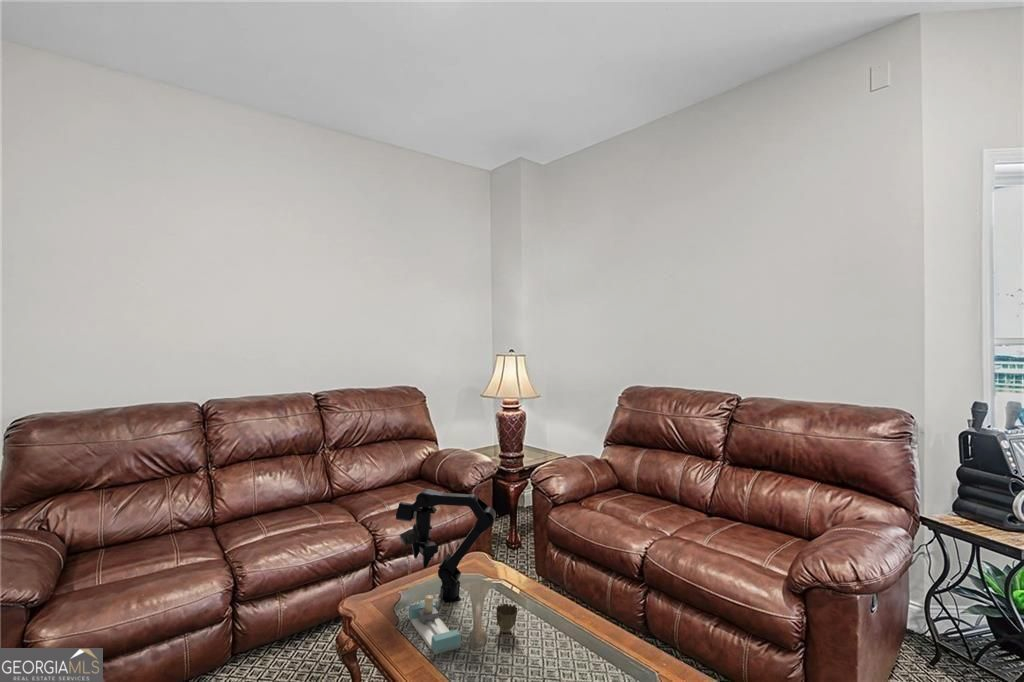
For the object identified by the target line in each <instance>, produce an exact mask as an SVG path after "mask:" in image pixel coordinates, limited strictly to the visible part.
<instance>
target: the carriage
mask: <svg viewBox="0 0 1024 682" xmlns="http://www.w3.org/2000/svg"><path fill="white" fill-rule="evenodd" d="M433 601H434V595H432V594H427V595H425V596H424V602H423V603H424V609H421V610H418V612H417V616H418V618H419V619H420V620H421V621H422V622H424V624H427V621H429V620H431V621H432V622H435V619H438V617H439V611H438V610H437V608H436V609H435V608H434V607H433Z"/></svg>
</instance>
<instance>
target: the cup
mask: <svg viewBox="0 0 1024 682" xmlns="http://www.w3.org/2000/svg"><path fill="white" fill-rule="evenodd" d="M495 610H496V622H497V625H498V627H499V629H500V632H501V633H503V634H509V633H510V632H511V630H512V628H514V626H515V625H516V621H517V616H518V607H516V605H515V604H511V603H510V604H508V603H503V604H500V605H498V604H497V605H496V609H495Z"/></svg>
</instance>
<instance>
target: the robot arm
mask: <svg viewBox="0 0 1024 682" xmlns="http://www.w3.org/2000/svg"><path fill="white" fill-rule="evenodd" d="M435 506H452V507H453V506H458V507H469V509H470V510H471V512H472V513H473V514H474V516H475V518H476V519H477V520H476V522H475V525H474V526H473V527H471V528H472V529H470V531H469V533H467V535H466V537H465V538H464V539H463V540H462V541H461V542H460V544H459V546H458V547H457V548H456V549H455V551H454V552H453V553H452V554H450V553H447V554H446V555H445V557H444V558H443V559H442V560H441V562H440V563H439V565H438V570H437V576H438V578H439V580H440V581H441V585H440V589H439V590H440V591H439V592H440V593H439V594H438V596H439V597H440V598H441V599H442V600H443V602H444V603H446V604H450V603H452V602H453V603H454V602H458V601H461V599H462V598H461V597H460V592H461V591H460V587H461V581H459V579H460V578H461V575H462V572H461V571H460V570H459V569H458V565H459V564H460V562H461V561H462V559H463V558H465V556H466V554H467V553H468V552H469V550H470V549H471V548H472V546H473V545H474V544H475V543H476V541H477V540H478V539H479V537H480V536H481V535H482V534H483V533H485V532H486V531H488V529H490V528H491V526H492V525H493V524H494V522H495V519H496V517H497V514H496V513H497V512H496V510H495V509H494V508H493V507H491V506H489V505H488V504H487V503H486V502H485V501H483V500H482V499H480V498H479V496H478V495H477V494H476V493H468V494H467V493H452V492H451V493H450V492H447V493H446V492H440V491H438V490H436V489H432V488H424V489H422V490H421V491H420V492H419V493H418V494H417V495H416V498H415V501H414V502H413V503H410V502H409V503H408V502H404V501H400V502H399V503H398V506H397V509H396V513H395V519H396V521H403V522H409V523H411V522H412V521H413V520H415V523H413V524H412V528H410V529H408V530H406V531H403V532H402V533H400V534H399V537H400V541H401V544H402V545H403V546H404V547H408V546H411V547H412V552H413V558H414V559H418V557H419V554H421V556H422V568H423V569H426V568H427V567H428V565H430V564H429V563H430V562H431V560H432V558H433V556H434V555H435V554H437V553H438V552H439V546H438V544H437V543H435V542H434V541H431V540H432V536H431V530H433V526H432V524H431V523H432V522H431V521H432V514H433V515H434V514H436V513H437V511H438V510H437V508H436V507H435Z"/></svg>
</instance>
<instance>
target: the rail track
mask: <svg viewBox="0 0 1024 682" xmlns="http://www.w3.org/2000/svg"><path fill="white" fill-rule="evenodd" d="M433 607H434V608H435V609H436V610H437V603H435V601H434V600H433ZM421 609H424V602H419V603H416V604H411V605H409V607H408V616H407V617H408V618H407V619H408V620H409V621H410V623H411V624H412V626H413V627H414V628H415V629H416V631H417V633H419V635H420V637H421V638H422V639H423V640H424V642H425V644H426V645H427V646H428V648H429V649H430V651H431V652H432V653H433V655H434V656H435V655H438V654H443V653H446V652H449V651H453V650H457V649H460V648H461V643H462V641H461V640H462V634H461V633H462V632H460V630H459V629H453V630H449V628H448V627H447V626H446V624H445V623H444V622H443V621H442V619H440V616H438V619H435V622H432V621H431V620H429V621H427V624H424V622H422V621H421V620H420V619H419V618H418V616H417V612H418V610H421Z"/></svg>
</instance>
